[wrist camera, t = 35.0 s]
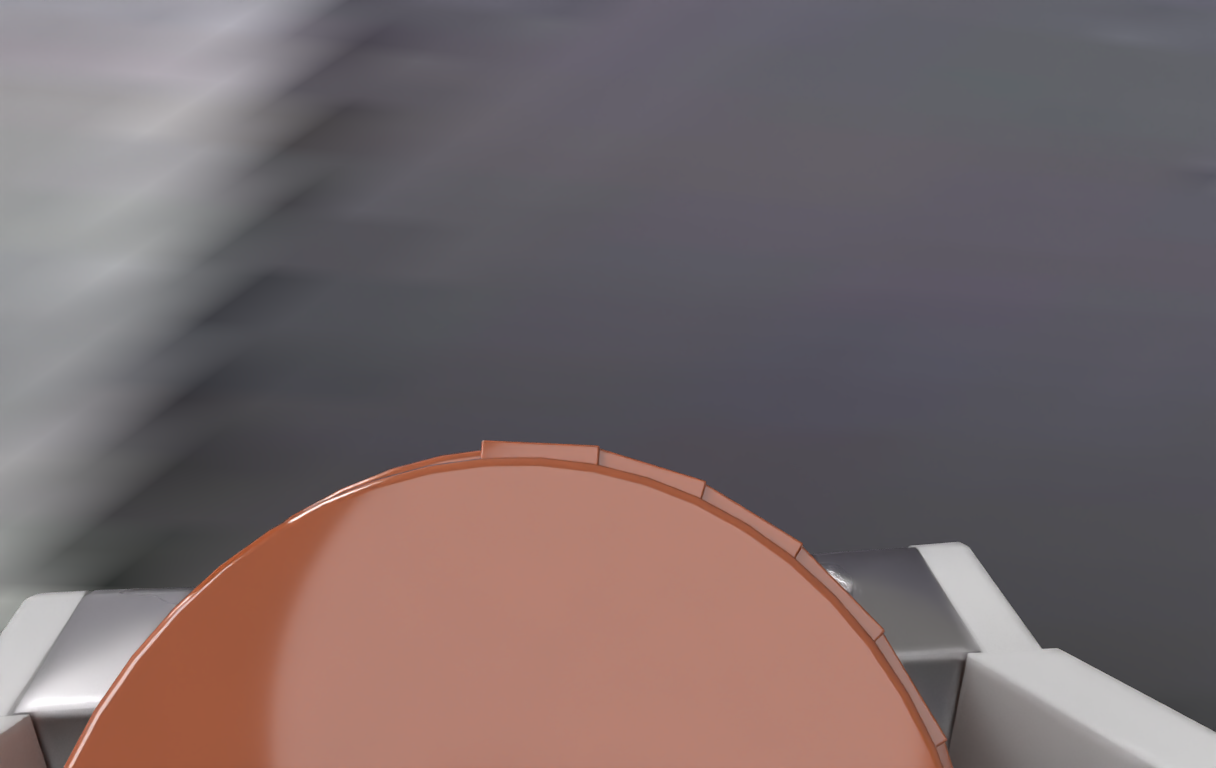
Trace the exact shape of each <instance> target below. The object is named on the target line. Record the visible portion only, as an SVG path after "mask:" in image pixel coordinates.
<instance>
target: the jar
mask: <svg viewBox="0 0 1216 768" xmlns="http://www.w3.org/2000/svg"><path fill="white" fill-rule="evenodd" d="M884 632H885V630H884V628H883V627H882V626H881V625H880V624H879V623H878V622H877V621H876V620H875V619H874V618H873V617H872V616H871V615H870V614H869V613H868V612H867V611H866V610H865V609H864V608H863V607H862V606H861V605H860V604H859V603H858V602H857V601H856V600H855V599H854V598H853V597H852V596H851V595H850V594H849V593H848V592H847V591H846V590H845V589H844V588H843V587H842V586H841V585H840V584H839V583H838V582H837V581H836V580H835V579H834V578H833V577H832V576H831V575H830V574H829V573H828V572H827V571H826V570H825V569H824V568H823V567H822V565H821V564H820V563H819V562H818V561H817V560H816V559H815V558H814V557H813V556H812V555H811V554H810V553H809V552H808V551H807V550H806V549H805V548H804V547H803V544H802V542H800V541H799V540H797V539H795V538H794V537H792V536H790V535H789V534H787V533H785V532H784V531H782V530H780V529H779V528H777V527H776V526H774V525H772V524H771V523H769V522H767V521H766V520H764V519H762V518H761V517H759V516H758V515H756V514H754V513H753V512H751V511H749V510H748V509H746V508H744V507H743V506H741V505H740V504H738V503H736V502H735V501H733V500H731V499H730V498H728V497H726V496H725V495H723V494H722V493H720V492H718V491H717V490H715V489H713V488H712V487H710V486H708V485H707V484H706V481H704V480H701V479H698V478H694V477H691V476H688V475H685V474H681V473H678V472H675V471H672V470H668V469H665V468H662V467H659V466H655V465H652V464H649V463H646V462H642V461H639V460H636V459H633V458H629V457H626V456H623V455H620V454H616V453H613V452H610V451H607V450H603V449H600V448H599V446H597V445H575V444H553V443H532V442H510V441H488V440H484V441H482V444H481V450H477V451H469V452H462V453H454V454H447V455H441V456H437V457H433V458H429V459H426V460H422V461H418V462H414V463H410V464H407V465H403V466H399V467H395V468H391V469H389V470H386V471H384V472H381V473H379V474H376V475H374V476H371V477H369V478H366V479H364V480H361V481H359V482H356V483H354V484H351V485H349V486H346V487H344V488H341V489H339V490H338V491H336V492H334V493H332V494H330V495H328V496H327V497H325V498H323V499H321V500H319V501H317V502H316V503H314V504H312V505H310V506H308V507H307V508H305V509H303V510H301V511H299V512H297V513H296V514H294V515H292V516H291V517H289V518H288V519H286V520H285V521H284V522H282V523H281V524H279V525H277V526H275V527H274V528H272V529H270V530H269V531H267V532H266V533H264V534H263V535H262V536H260V537H259V538H257V539H256V540H255V541H253V542H252V543H250V544H249V545H248V546H246V547H245V548H243V549H242V550H241V551H239V552H238V553H236V554H235V555H234V556H232V557H231V558H229V559H228V560H227V561H225V562H224V563H222V564H221V565H220V566H219V567H218V568H217V569H215V570H214V571H213V572H212V573H211V574H210V575H209V576H208V577H207V578H206V579H204V580H203V581H202V582H201V583H200V584H199V585H198V586H197V587H196V588H194V589H193V590H192V591H191V592H190V593H189V594H188V595H187V596H186V597H185V598H183V599H182V600H181V601H180V602H179V603H178V604H177V605H176V606H175V607H174V608H173V609H172V610H171V611H170V612H169V613H168V615H167V616H166V617H165V618H164V619H163V620H162V621H161V623H160V624H159V625H158V626H157V627H156V628H155V629H154V631H153V632H152V633H151V634H150V635H149V636H148V637H147V639H146V640H145V641H144V642H143V643H142V644H141V645H140V647H139V648H138V649H137V650H136V651H135V652H134V653H133V655H132V656H131V657H130V659H129V660H128V662H127V663H126V665H125V666H124V667H123V669H122V670H121V672H120V673H119V675H118V676H117V678H116V679H115V680H114V682H113V683H112V685H111V686H110V688H109V689H108V691H107V692H106V693H105V695H104V696H103V698H102V699H101V701H100V702H99V704H98V705H97V706H96V708H95V709H94V711H93V713H92V715H91V717H90V719H89V720H88V722H87V724H86V726H85V728H84V730H83V732H82V733H81V735H80V737H79V739H78V741H77V743H76V745H75V747H74V748H73V750H72V752H71V754H70V756H69V758H68V760H67V761H66V763H65V765H64V767H63V768H953V765H952V762H951V758H950V755H949V752H948V749H947V746H946V743H945V742H946V741H947V738H946V736H945V734H944V733H943V731H942V729H941V728H940V726H939V724H938V723H937V721H936V719H935V718H934V716H933V714H932V713H931V711H930V709H929V708H928V706H927V704H926V703H925V701H924V699H923V698H922V696H921V694H920V693H919V691H918V689H917V688H916V686H915V684H914V683H913V681H912V679H911V678H910V676H909V674H908V673H907V671H906V669H905V668H904V666H903V664H902V663H901V661H900V660H899V658H898V656H897V655H896V653H895V651H894V650H893V648H892V646H891V645H890V643H889V641H888V640H887V638H886V636H885V635H884Z"/></svg>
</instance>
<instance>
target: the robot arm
mask: <svg viewBox="0 0 1216 768" xmlns="http://www.w3.org/2000/svg"><path fill="white" fill-rule="evenodd" d="M811 555H812V556H813V557H814V558H815V559H816V560H817V561H818V562H819V563H820V564H821V565H822V567H823V568H824V569H825V570H826V571H827V572H828V573H829V574H830V575H831V576H832V577H833V578H834V579H835V580H836V581H837V582H838V583H839V584H840V585H841V586H842V587H843V588H844V589H845V590H846V591H847V592H848V593H849V594H850V595H851V596H852V597H853V598H854V599H855V600H856V601H857V602H858V603H859V604H860V605H861V606H862V607H863V608H864V609H865V610H866V611H867V612H868V613H869V614H870V615H871V616H872V617H873V618H874V619H875V620H876V621H877V622H878V623H879V624H880V625H881V626H882V627H883V628H884V630H885V632H884V635H885V636H886V638H887V640H888V641H889V643H890V645H891V646H892V648H893V650H894V651H895V653H896V655H897V656H898V658H899V660H900V661H901V663H902V664H903V666H904V668H905V669H906V671H907V673H908V674H909V676H910V678H911V679H912V681H913V683H914V684H915V686H916V688H917V689H918V691H919V693H920V694H921V696H922V698H923V699H924V701H925V703H926V704H927V706H928V708H929V709H930V711H931V713H932V714H933V716H934V718H935V719H936V721H937V723H938V724H939V726H940V728H941V729H942V731H943V733H944V734H945V736H946V738H947V741H946V742H945V743H946V746H947V749H948V752H949V755H950V758H951V762H952V765H953V768H1216V732H1214V731H1212V730H1210V729H1209V728H1207V727H1205V726H1203V725H1201V724H1199V723H1197V722H1195V721H1194V720H1192V719H1190V718H1188V717H1186V716H1184V715H1182V714H1180V713H1179V712H1177V711H1175V710H1173V709H1171V708H1169V707H1167V706H1165V705H1164V704H1162V703H1160V702H1158V701H1156V700H1154V699H1152V698H1150V697H1149V696H1147V695H1145V694H1143V693H1141V692H1139V691H1137V690H1135V689H1134V688H1132V687H1130V686H1128V685H1126V684H1124V683H1122V682H1120V681H1118V680H1117V679H1115V678H1113V677H1111V676H1109V675H1107V674H1105V673H1103V672H1102V671H1100V670H1098V669H1096V668H1094V667H1092V666H1090V665H1088V664H1087V663H1085V662H1083V661H1081V660H1079V659H1077V658H1075V657H1073V656H1072V655H1070V654H1068V653H1066V652H1064V651H1062V650H1060V649H1058V648H1051V649H1042V648H1041V647H1040V645H1039V644H1038V643H1037V641H1036V640H1035V638H1034V637H1033V636H1032V634H1031V633H1030V631H1029V630H1028V629H1027V627H1026V626H1025V624H1024V623H1023V622H1022V620H1021V619H1020V617H1019V616H1018V615H1017V613H1016V612H1015V611H1014V609H1013V608H1012V606H1011V605H1010V604H1009V602H1008V601H1007V599H1006V598H1005V597H1004V595H1003V594H1002V592H1001V591H1000V590H999V588H998V587H997V586H996V584H995V583H994V581H993V580H992V579H991V577H990V576H989V574H988V573H987V572H986V570H985V569H984V567H983V566H982V565H981V563H980V562H979V560H978V559H977V558H976V556H975V555H974V554H973V552H972V551H971V549H970V548H969V547H968V546H966V545H964V544H962V543H961V542H950V543H938V544H926V545H915V546H909V547H908V548H894V549H879V550H863V551H848V552H832V553H817V554H811ZM194 588H196V587H176V588H147V589H119V590H95V591H93V592H90V591H72V592H54V593H38V594H36V595H34V596H31V597H29V598H27V599H25V600H24V601H23V603H22V604H21V605H20V607H19V608H18V610H17V611H16V613H15V614H14V615H13V617H12V618H11V620H10V621H9V623H8V624H7V626H6V627H5V629H4V630H3V631H2V633H1V634H0V768H63V767H64V765H65V763H66V761H67V760H68V758H69V756H70V754H71V752H72V750H73V748H74V747H75V745H76V743H77V741H78V739H79V737H80V735H81V733H82V732H83V730H84V728H85V726H86V724H87V722H88V720H89V719H90V717H91V715H92V713H93V711H94V709H95V708H96V706H97V705H98V704H99V702H100V701H101V699H102V698H103V696H104V695H105V693H106V692H107V691H108V689H109V688H110V686H111V685H112V683H113V682H114V680H115V679H116V678H117V676H118V675H119V673H120V672H121V670H122V669H123V667H124V666H125V665H126V663H127V662H128V660H129V659H130V657H131V656H132V655H133V653H134V652H135V651H136V650H137V649H138V648H139V647H140V645H141V644H142V643H143V642H144V641H145V640H146V639H147V637H148V636H149V635H150V634H151V633H152V632H153V631H154V629H155V628H156V627H157V626H158V625H159V624H160V623H161V621H162V620H163V619H164V618H165V617H166V616H167V615H168V613H169V612H170V611H171V610H172V609H173V608H174V607H175V606H176V605H177V604H178V603H179V602H180V601H181V600H182V599H183V598H185V597H186V596H187V595H188V594H189V593H190V592H191V591H192V590H193V589H194Z"/></svg>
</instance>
